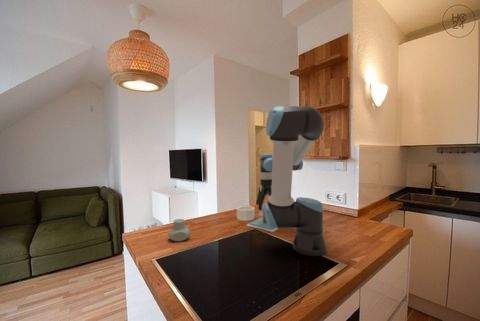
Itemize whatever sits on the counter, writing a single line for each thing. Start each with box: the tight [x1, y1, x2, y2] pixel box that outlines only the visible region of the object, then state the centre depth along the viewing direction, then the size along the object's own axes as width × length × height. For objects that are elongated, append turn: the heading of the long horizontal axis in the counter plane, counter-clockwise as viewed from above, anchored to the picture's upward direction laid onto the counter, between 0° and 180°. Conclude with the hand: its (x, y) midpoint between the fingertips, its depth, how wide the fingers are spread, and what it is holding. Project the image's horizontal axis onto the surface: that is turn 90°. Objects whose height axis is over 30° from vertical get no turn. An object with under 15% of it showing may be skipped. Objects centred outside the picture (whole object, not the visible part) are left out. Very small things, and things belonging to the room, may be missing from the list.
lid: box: [248, 208, 275, 230], centre depth 133 cm, size 16×16×9 cm
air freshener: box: [168, 218, 191, 242], centre depth 113 cm, size 11×8×10 cm
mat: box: [246, 223, 278, 232], centre depth 134 cm, size 19×19×1 cm
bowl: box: [236, 205, 256, 222], centre depth 146 cm, size 12×12×7 cm
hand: (266, 212), depth 134 cm, fingers open, 13 cm apart
